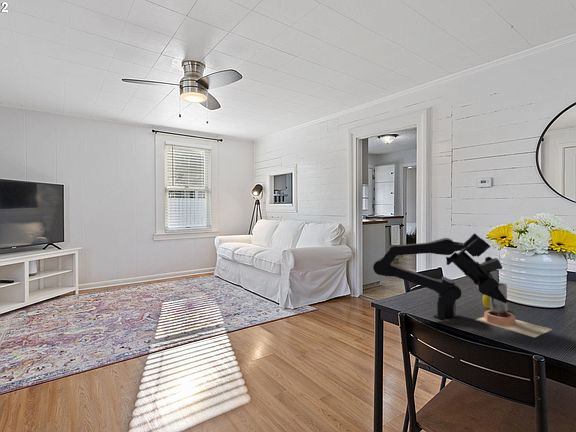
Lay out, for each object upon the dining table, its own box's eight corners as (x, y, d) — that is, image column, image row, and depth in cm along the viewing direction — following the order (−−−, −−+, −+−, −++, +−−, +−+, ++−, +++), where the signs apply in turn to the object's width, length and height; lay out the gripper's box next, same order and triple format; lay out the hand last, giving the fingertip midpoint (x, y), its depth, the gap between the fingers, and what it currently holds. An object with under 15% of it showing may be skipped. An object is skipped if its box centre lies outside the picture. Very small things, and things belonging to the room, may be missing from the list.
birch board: (534, 340, 99) (534, 337, 99) (474, 322, 115) (474, 319, 115) (552, 332, 105) (552, 329, 105) (493, 316, 121) (493, 313, 121)
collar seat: (506, 327, 108) (505, 319, 108) (480, 319, 115) (480, 312, 115) (519, 322, 112) (519, 315, 112) (493, 315, 119) (493, 308, 119)
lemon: (479, 309, 129) (479, 289, 129) (489, 307, 131) (489, 288, 131) (492, 313, 124) (492, 292, 124) (502, 311, 126) (502, 291, 126)
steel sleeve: (505, 324, 110) (504, 286, 109) (488, 320, 114) (487, 284, 113) (509, 320, 113) (508, 283, 113) (493, 316, 117) (492, 281, 117)
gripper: (490, 254, 106) (531, 290, 102) (482, 247, 123) (517, 278, 119) (463, 276, 109) (501, 312, 105) (459, 266, 126) (492, 297, 122)
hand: (504, 298), depth 113 cm, fingers open, 9 cm apart
